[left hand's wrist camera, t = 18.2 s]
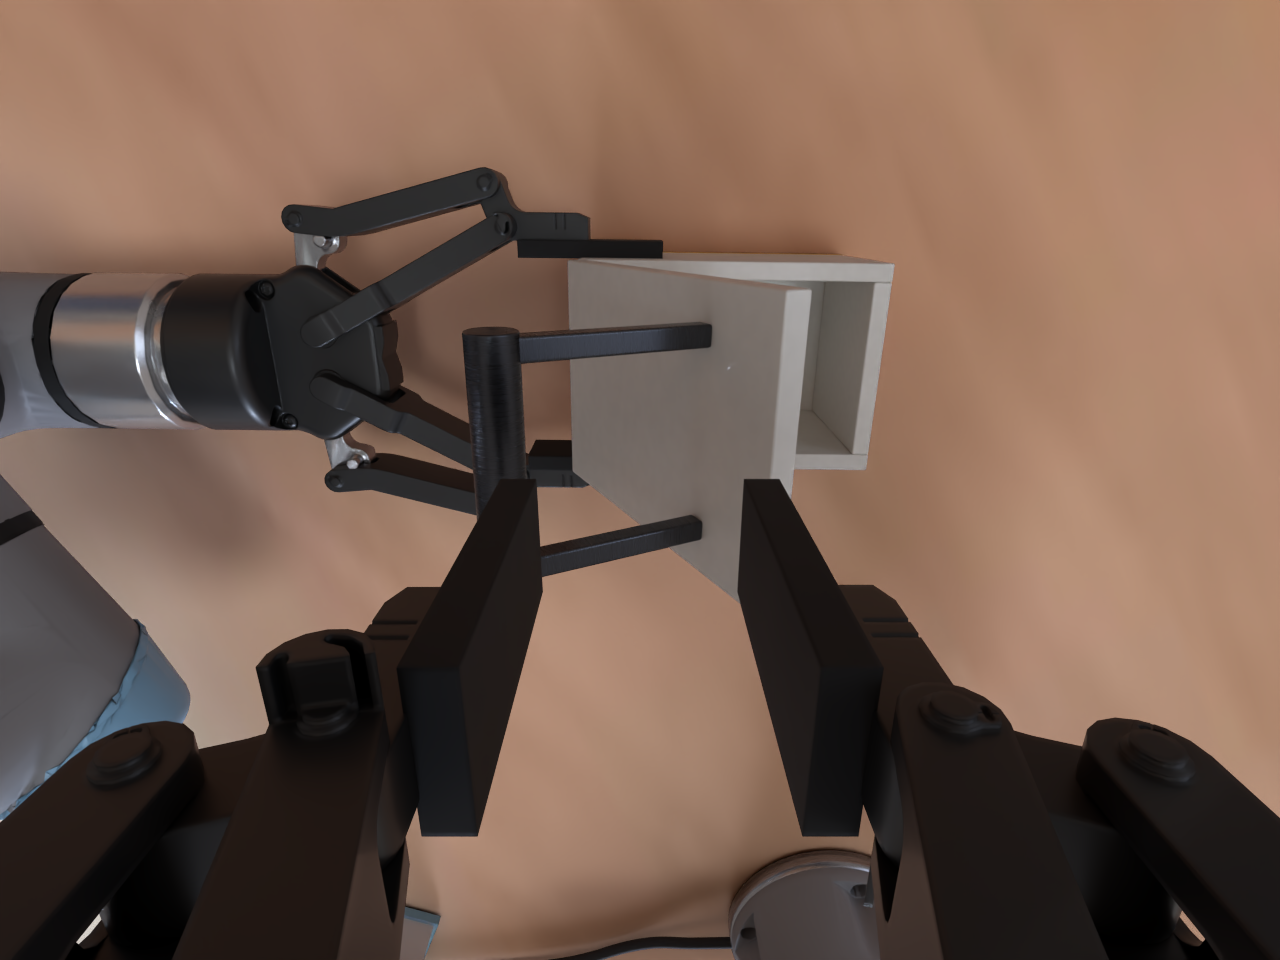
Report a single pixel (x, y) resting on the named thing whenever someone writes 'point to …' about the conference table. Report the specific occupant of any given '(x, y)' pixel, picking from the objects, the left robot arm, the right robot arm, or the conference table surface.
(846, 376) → the chest
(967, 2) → the conference table surface
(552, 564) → the lid
